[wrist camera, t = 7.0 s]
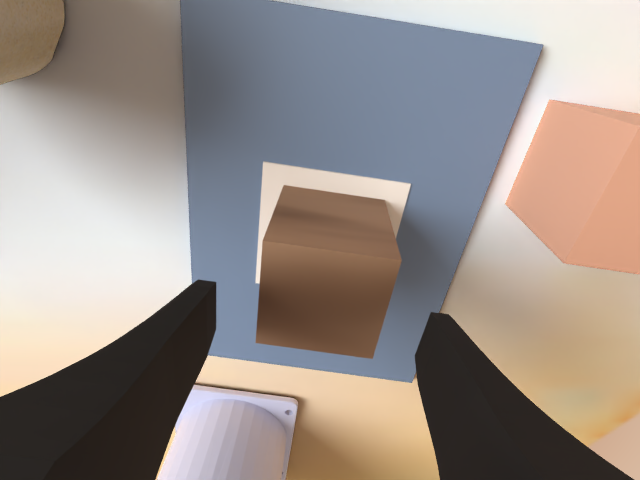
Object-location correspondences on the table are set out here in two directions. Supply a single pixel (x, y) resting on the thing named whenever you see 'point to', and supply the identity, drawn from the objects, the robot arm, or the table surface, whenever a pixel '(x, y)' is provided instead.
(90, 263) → the table surface
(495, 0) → the table surface
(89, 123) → the table surface
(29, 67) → the flower pot
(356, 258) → the walnut block
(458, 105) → the board
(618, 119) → the terracotta block
